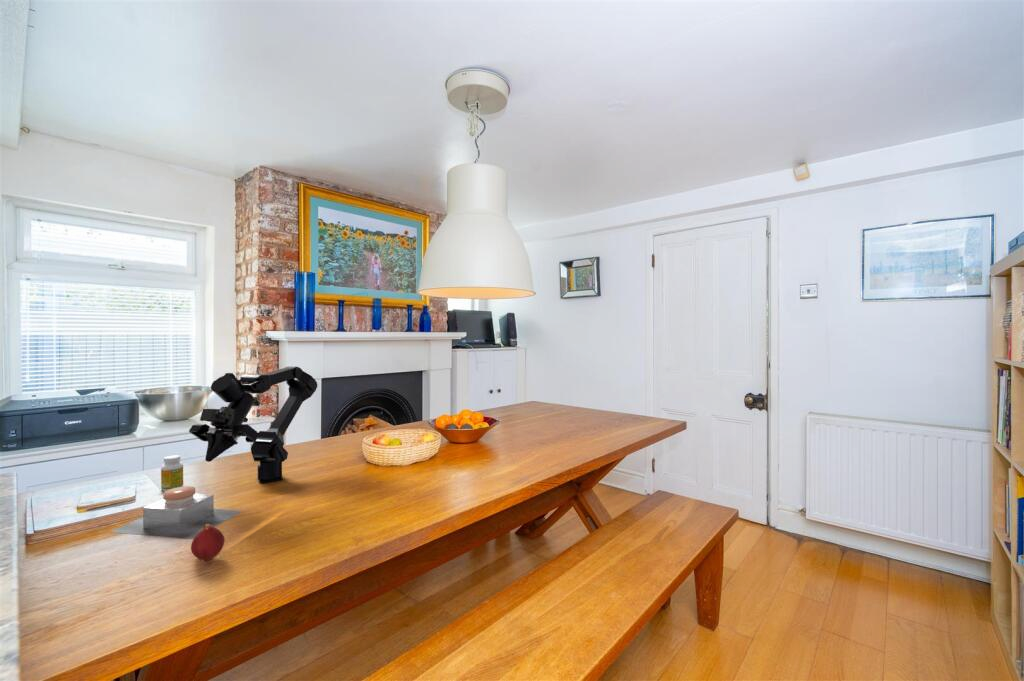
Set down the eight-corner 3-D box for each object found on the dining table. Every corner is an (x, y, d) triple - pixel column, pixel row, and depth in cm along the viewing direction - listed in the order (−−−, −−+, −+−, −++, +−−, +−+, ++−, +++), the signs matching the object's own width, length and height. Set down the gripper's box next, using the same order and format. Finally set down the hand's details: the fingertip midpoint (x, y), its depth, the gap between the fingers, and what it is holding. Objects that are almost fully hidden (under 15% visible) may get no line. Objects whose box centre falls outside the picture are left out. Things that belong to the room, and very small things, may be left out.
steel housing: (179, 511, 118) (179, 492, 118) (213, 513, 116) (213, 494, 116) (143, 528, 108) (142, 507, 108) (180, 531, 107) (179, 510, 106)
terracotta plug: (179, 511, 116) (179, 485, 116) (201, 513, 115) (201, 487, 115) (156, 521, 109) (156, 494, 109) (180, 523, 109) (179, 496, 108)
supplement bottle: (171, 492, 134) (171, 460, 133) (156, 490, 135) (156, 458, 134) (187, 486, 139) (187, 455, 139) (173, 484, 140) (173, 453, 140)
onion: (202, 554, 98) (201, 518, 98) (229, 553, 98) (229, 517, 98) (185, 568, 92) (184, 530, 92) (214, 567, 93) (214, 529, 92)
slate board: (169, 508, 122) (169, 505, 122) (243, 514, 119) (243, 510, 119) (108, 535, 106) (108, 531, 106) (192, 543, 103) (192, 539, 103)
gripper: (191, 396, 128) (157, 446, 118) (246, 395, 123) (215, 447, 113) (218, 416, 136) (188, 465, 126) (270, 416, 131) (243, 467, 122)
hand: (207, 461), depth 121 cm, fingers closed
